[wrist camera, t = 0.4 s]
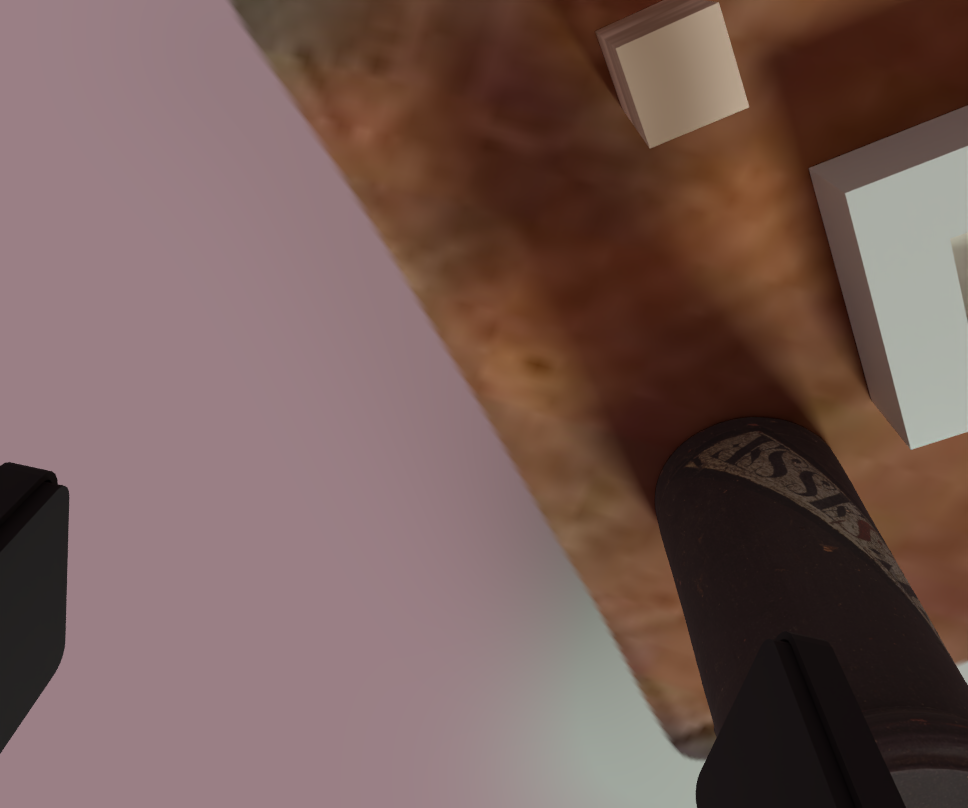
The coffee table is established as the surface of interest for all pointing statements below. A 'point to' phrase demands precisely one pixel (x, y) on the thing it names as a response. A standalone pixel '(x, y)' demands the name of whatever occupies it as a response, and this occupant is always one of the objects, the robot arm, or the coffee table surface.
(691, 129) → the birch stick
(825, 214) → the grey square socket block
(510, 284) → the coffee table surface
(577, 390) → the coffee table surface
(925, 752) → the container
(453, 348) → the coffee table surface
